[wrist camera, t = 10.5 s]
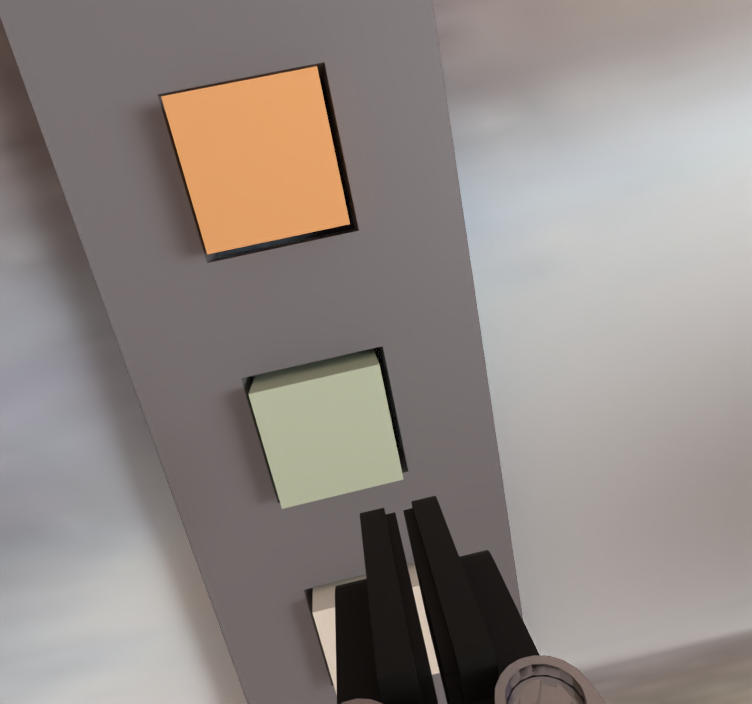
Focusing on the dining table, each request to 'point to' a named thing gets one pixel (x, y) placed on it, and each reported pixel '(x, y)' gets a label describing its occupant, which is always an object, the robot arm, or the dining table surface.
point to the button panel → (275, 289)
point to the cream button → (326, 620)
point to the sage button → (326, 428)
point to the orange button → (258, 159)
